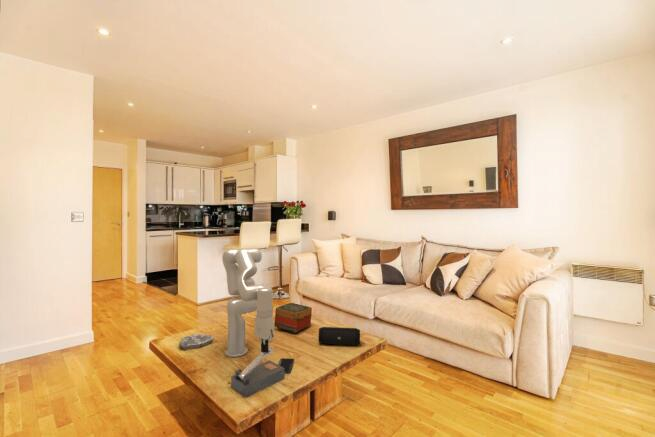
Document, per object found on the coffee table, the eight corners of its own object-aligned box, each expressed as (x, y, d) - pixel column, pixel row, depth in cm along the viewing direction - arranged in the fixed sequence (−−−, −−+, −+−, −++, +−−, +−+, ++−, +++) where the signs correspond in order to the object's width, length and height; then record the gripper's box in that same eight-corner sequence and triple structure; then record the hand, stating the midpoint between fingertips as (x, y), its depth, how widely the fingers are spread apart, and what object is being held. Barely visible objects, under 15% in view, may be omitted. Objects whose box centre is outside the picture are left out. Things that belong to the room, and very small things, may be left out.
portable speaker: (318, 346, 188) (318, 330, 188) (319, 339, 198) (319, 324, 198) (359, 348, 186) (360, 331, 186) (359, 341, 196) (359, 325, 196)
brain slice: (205, 336, 202) (205, 331, 202) (216, 343, 190) (216, 339, 190) (173, 344, 188) (173, 339, 188) (183, 353, 176) (183, 348, 176)
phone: (275, 372, 155) (280, 358, 170) (274, 374, 155) (280, 360, 170) (290, 372, 154) (294, 358, 169) (290, 374, 155) (294, 360, 170)
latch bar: (244, 381, 137) (242, 378, 137) (238, 377, 141) (236, 374, 140) (273, 350, 149) (272, 347, 149) (267, 347, 153) (266, 344, 152)
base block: (245, 397, 134) (245, 379, 134) (231, 387, 142) (231, 369, 142) (284, 378, 150) (284, 362, 150) (269, 369, 158) (269, 354, 158)
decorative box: (271, 330, 214) (271, 308, 212) (292, 319, 232) (292, 298, 230) (294, 339, 203) (294, 315, 201) (314, 326, 221) (314, 304, 219)
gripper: (249, 311, 150) (249, 349, 150) (267, 318, 140) (267, 358, 140) (262, 308, 156) (261, 344, 156) (280, 314, 146) (280, 353, 146)
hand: (264, 351), depth 148 cm, fingers closed
